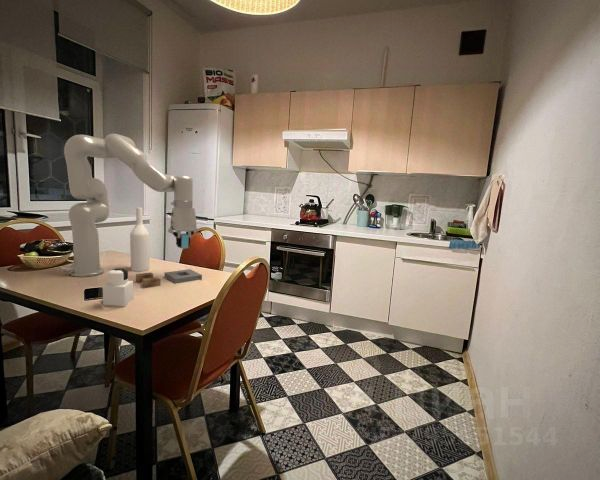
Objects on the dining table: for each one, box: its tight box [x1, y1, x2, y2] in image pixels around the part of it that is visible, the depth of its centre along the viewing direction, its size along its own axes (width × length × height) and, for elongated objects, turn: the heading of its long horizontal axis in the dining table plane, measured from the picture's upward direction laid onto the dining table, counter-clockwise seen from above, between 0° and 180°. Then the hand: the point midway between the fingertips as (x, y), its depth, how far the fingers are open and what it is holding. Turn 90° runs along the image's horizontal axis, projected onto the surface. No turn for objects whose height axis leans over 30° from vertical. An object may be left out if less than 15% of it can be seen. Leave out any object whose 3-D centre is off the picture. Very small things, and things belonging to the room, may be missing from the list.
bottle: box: [129, 207, 150, 272], centre depth 151 cm, size 8×8×30 cm
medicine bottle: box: [101, 267, 135, 308], centre depth 109 cm, size 7×7×12 cm
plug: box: [178, 232, 189, 249], centre depth 139 cm, size 3×4×6 cm
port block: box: [163, 268, 203, 285], centre depth 142 cm, size 12×12×2 cm
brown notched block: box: [135, 272, 161, 289], centre depth 132 cm, size 6×11×4 cm, turn 44°
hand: (183, 246), depth 140 cm, fingers closed on plug, 2 cm apart
